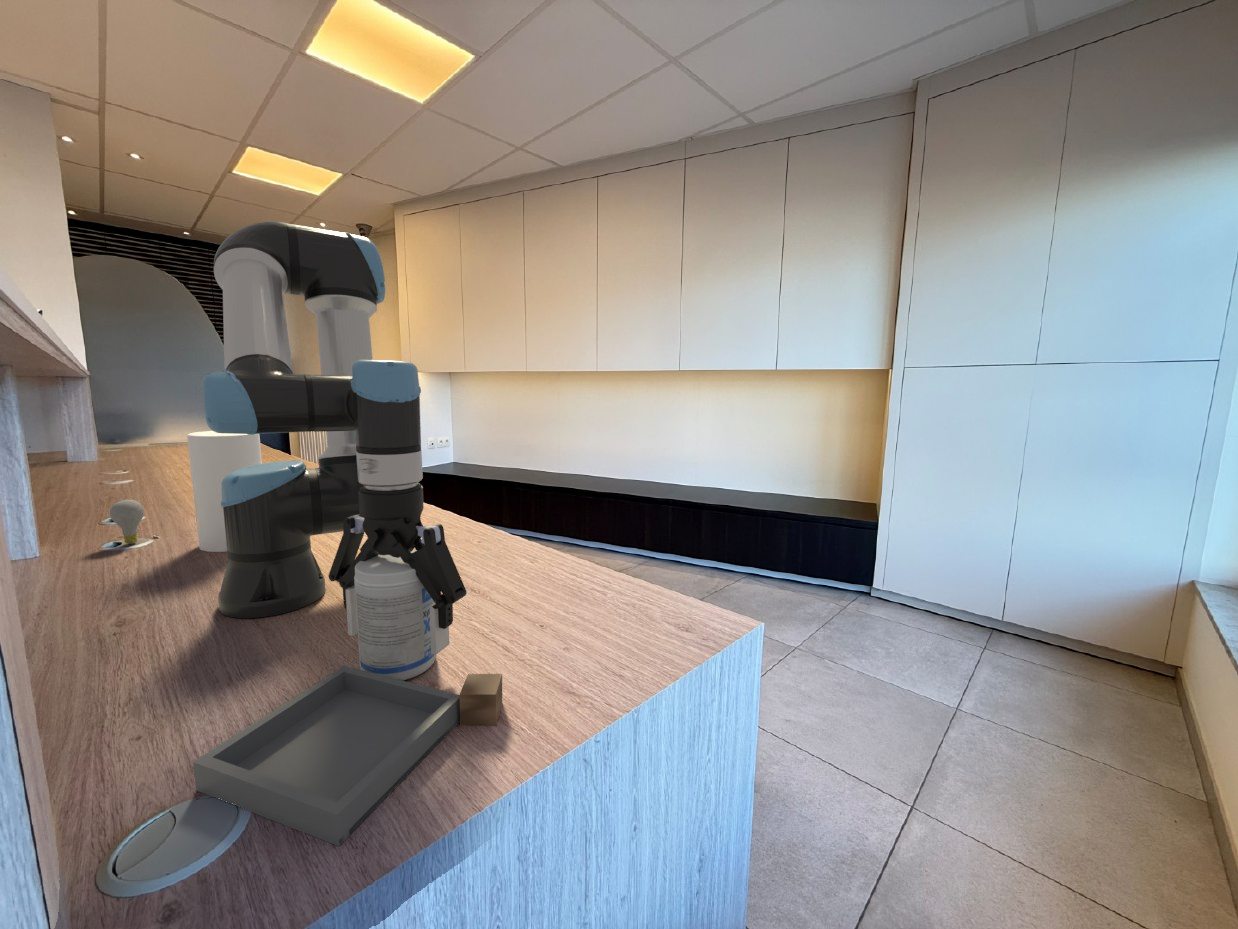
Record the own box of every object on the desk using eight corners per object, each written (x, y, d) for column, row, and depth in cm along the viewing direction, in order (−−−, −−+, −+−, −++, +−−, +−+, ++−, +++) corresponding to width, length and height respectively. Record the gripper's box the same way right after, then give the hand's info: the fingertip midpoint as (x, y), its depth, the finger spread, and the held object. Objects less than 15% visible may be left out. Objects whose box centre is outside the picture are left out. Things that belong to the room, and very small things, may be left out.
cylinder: (256, 550, 110) (245, 436, 106) (187, 553, 107) (174, 436, 103) (276, 533, 122) (267, 430, 118) (215, 536, 119) (204, 429, 115)
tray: (196, 790, 47) (192, 762, 47) (345, 688, 63) (344, 666, 63) (339, 846, 42) (337, 815, 42) (462, 719, 58) (461, 695, 58)
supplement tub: (444, 672, 67) (441, 566, 65) (365, 695, 62) (358, 581, 59) (427, 640, 75) (423, 545, 73) (355, 658, 70) (349, 556, 67)
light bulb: (131, 548, 109) (125, 503, 108) (106, 547, 109) (100, 502, 108) (155, 540, 115) (149, 497, 113) (131, 539, 115) (125, 496, 113)
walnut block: (460, 727, 57) (459, 694, 56) (468, 704, 61) (468, 673, 60) (496, 726, 57) (495, 694, 56) (502, 704, 61) (502, 673, 60)
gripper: (290, 480, 65) (302, 636, 68) (456, 500, 57) (460, 673, 61) (339, 471, 72) (347, 612, 75) (492, 487, 64) (494, 643, 68)
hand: (398, 640), depth 68 cm, fingers open, 13 cm apart
